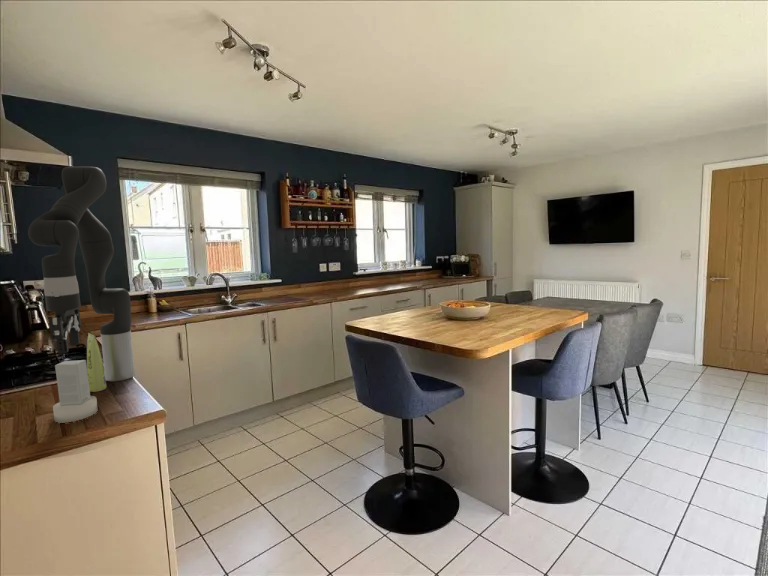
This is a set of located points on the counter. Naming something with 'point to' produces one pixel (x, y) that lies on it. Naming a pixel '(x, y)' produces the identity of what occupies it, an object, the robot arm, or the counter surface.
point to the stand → (75, 411)
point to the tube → (95, 366)
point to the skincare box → (72, 382)
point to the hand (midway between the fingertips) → (69, 348)
